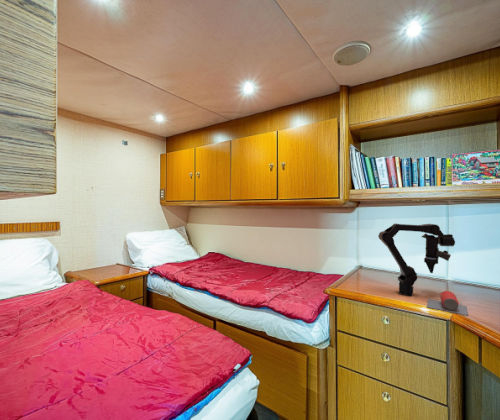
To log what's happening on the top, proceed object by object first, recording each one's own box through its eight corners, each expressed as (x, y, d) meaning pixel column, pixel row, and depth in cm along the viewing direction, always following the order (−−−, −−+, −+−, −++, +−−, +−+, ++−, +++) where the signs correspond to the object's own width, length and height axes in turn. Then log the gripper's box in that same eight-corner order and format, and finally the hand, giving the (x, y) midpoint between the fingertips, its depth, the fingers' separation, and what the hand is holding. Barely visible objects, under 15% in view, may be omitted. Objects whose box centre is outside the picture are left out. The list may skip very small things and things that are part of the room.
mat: (426, 307, 128) (426, 306, 128) (428, 299, 139) (428, 298, 139) (468, 316, 118) (468, 315, 118) (466, 306, 129) (466, 305, 129)
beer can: (457, 293, 131) (460, 300, 121) (454, 305, 131) (457, 313, 121) (441, 288, 134) (443, 295, 124) (438, 300, 135) (441, 308, 125)
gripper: (450, 249, 133) (449, 279, 133) (449, 245, 148) (449, 271, 148) (424, 247, 140) (423, 275, 140) (426, 243, 154) (425, 268, 155)
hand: (431, 272), depth 145 cm, fingers closed
